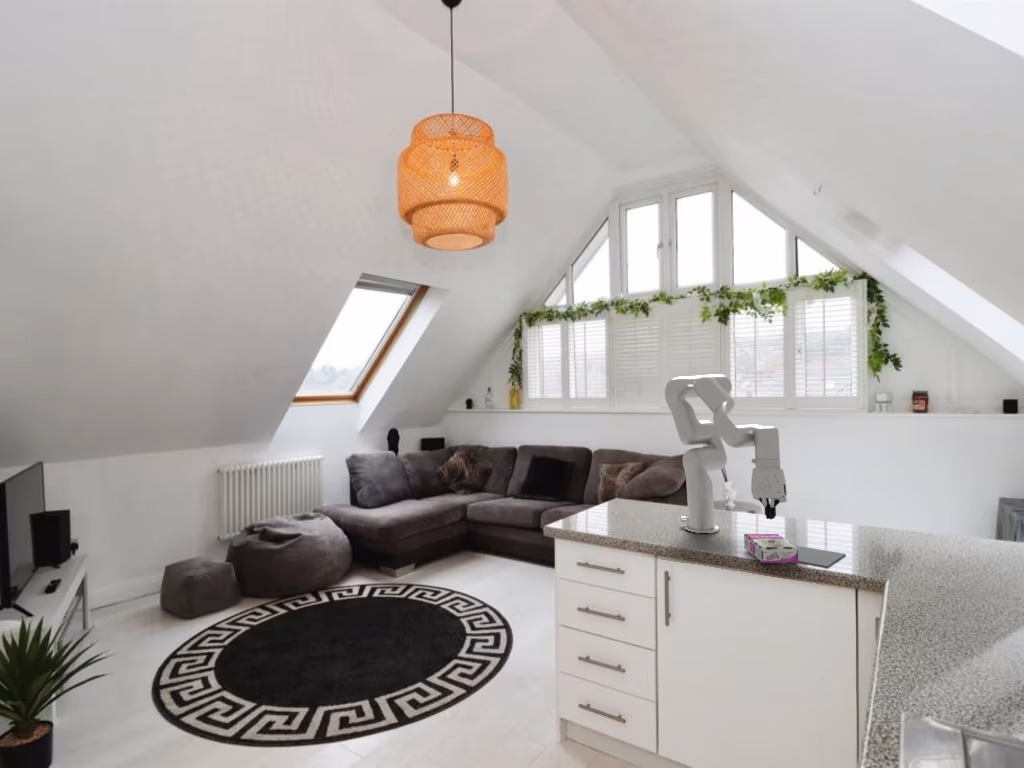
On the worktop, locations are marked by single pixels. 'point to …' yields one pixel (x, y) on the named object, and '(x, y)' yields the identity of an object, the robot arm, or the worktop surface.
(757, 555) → the candy bar box
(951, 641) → the worktop surface
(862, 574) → the worktop surface
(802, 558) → the mat
